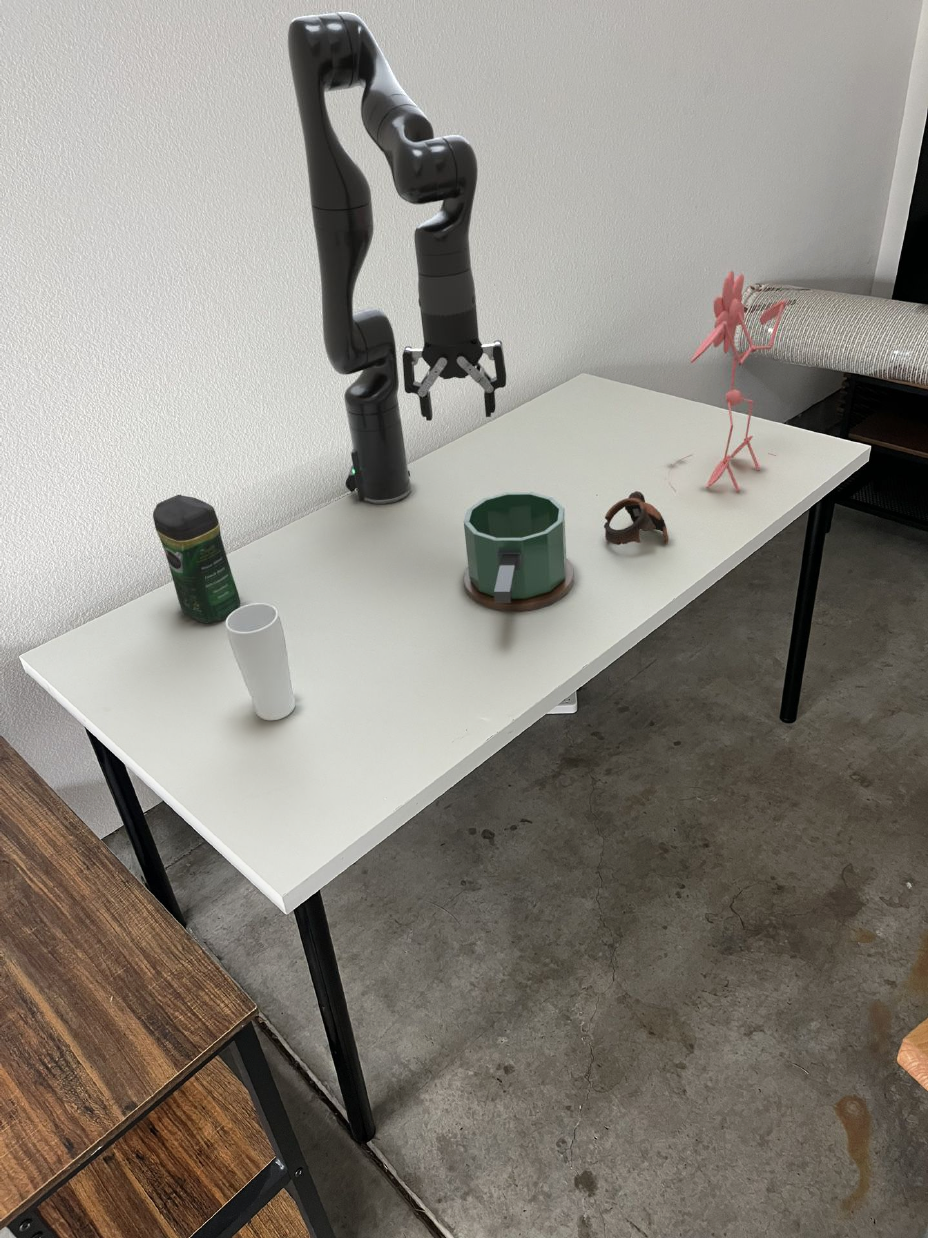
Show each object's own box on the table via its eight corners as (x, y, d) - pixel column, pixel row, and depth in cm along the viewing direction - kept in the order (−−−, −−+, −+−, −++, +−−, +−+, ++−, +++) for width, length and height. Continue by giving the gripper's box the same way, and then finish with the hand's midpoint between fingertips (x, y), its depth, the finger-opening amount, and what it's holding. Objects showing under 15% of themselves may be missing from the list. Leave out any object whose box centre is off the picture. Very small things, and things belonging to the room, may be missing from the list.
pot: (477, 547, 154) (472, 492, 148) (568, 547, 151) (566, 491, 146) (454, 638, 134) (446, 578, 129) (558, 639, 132) (555, 578, 126)
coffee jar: (250, 607, 149) (222, 501, 138) (207, 631, 144) (174, 523, 134) (216, 587, 155) (186, 484, 144) (174, 609, 150) (140, 505, 140)
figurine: (781, 451, 175) (802, 254, 155) (723, 513, 159) (739, 301, 139) (703, 437, 183) (713, 247, 163) (640, 494, 167) (643, 291, 147)
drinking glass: (253, 696, 130) (227, 605, 122) (302, 690, 130) (280, 599, 122) (248, 729, 125) (221, 636, 116) (300, 722, 125) (276, 629, 116)
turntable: (460, 614, 142) (460, 607, 141) (467, 554, 156) (466, 548, 155) (576, 609, 140) (575, 602, 139) (572, 549, 154) (572, 542, 153)
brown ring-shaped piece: (675, 555, 150) (653, 523, 145) (621, 576, 154) (597, 545, 149) (668, 503, 158) (647, 470, 153) (616, 524, 162) (594, 493, 157)
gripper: (501, 291, 130) (509, 403, 139) (398, 298, 131) (412, 409, 141) (500, 308, 124) (507, 424, 133) (391, 316, 125) (406, 430, 135)
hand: (458, 416), depth 137 cm, fingers open, 8 cm apart
